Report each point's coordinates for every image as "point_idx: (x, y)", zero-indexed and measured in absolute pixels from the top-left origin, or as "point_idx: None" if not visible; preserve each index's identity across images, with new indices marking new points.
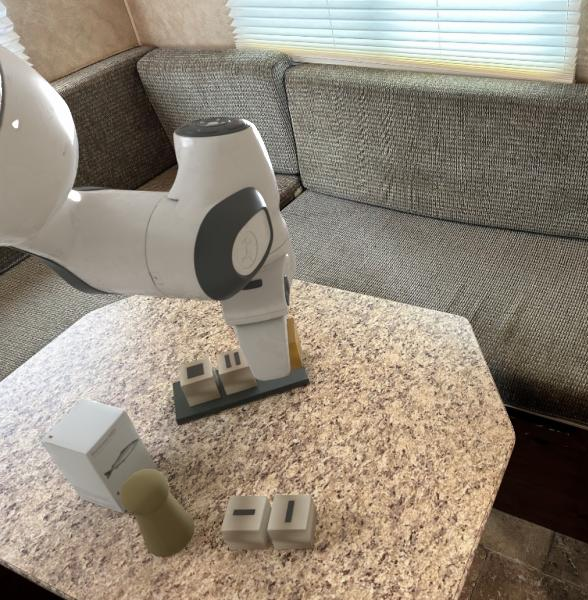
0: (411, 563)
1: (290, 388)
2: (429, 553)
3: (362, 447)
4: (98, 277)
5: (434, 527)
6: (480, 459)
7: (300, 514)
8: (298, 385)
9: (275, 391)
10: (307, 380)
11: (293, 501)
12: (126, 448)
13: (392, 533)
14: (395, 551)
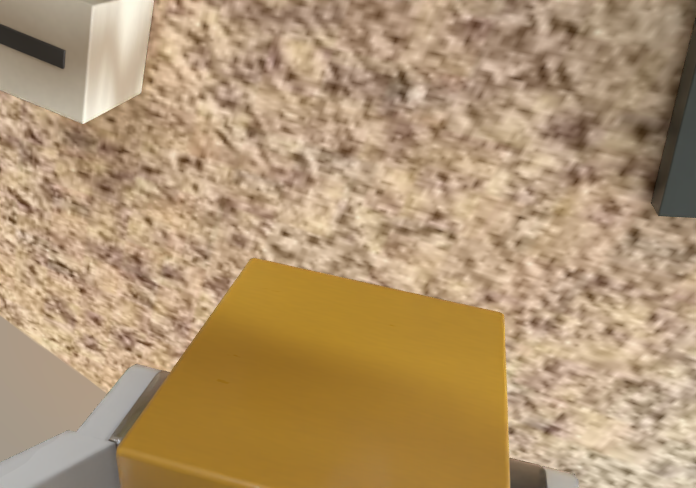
0: (7, 244)
1: (669, 135)
2: (26, 280)
3: (315, 260)
4: None
5: (77, 309)
6: None
7: (19, 75)
8: (662, 167)
9: (686, 77)
10: (657, 206)
11: (60, 65)
12: None
13: (72, 236)
14: (33, 227)
